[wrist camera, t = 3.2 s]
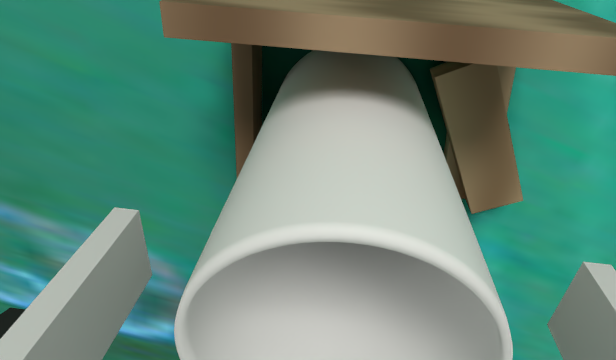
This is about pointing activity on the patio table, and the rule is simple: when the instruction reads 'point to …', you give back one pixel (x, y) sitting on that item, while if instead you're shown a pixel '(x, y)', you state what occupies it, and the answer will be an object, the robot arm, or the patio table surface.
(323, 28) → the rack
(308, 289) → the cup
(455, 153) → the offcut slab upper
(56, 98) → the patio table surface
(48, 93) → the patio table surface
